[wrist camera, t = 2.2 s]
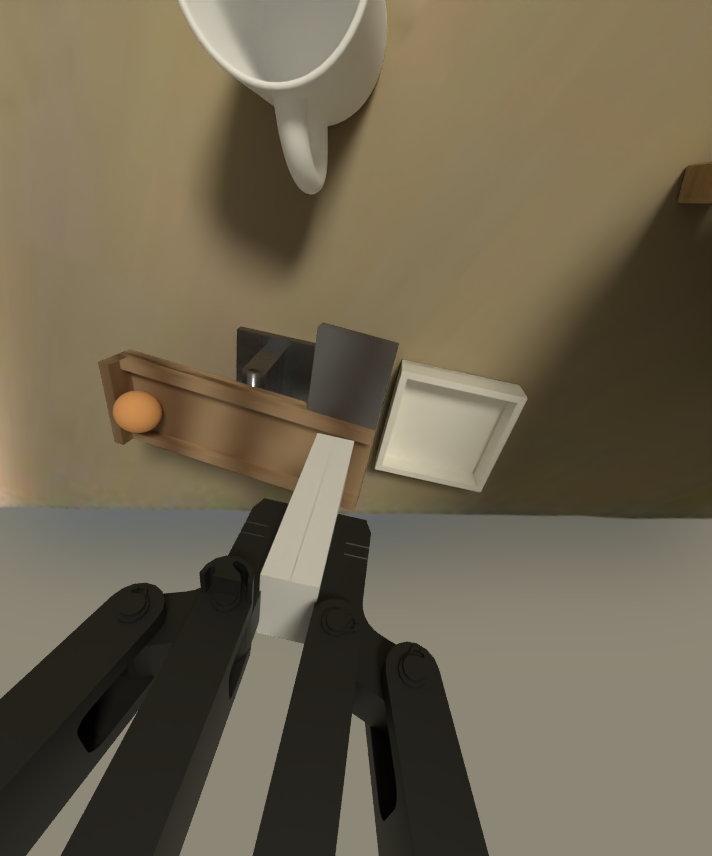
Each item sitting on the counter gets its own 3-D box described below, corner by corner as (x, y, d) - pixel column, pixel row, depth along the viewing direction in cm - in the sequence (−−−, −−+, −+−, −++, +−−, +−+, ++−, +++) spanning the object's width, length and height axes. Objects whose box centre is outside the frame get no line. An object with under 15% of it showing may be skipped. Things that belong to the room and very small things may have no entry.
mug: (382, 196, 26) (370, 193, 17) (269, 195, 27) (204, 192, 18) (392, -66, 20) (381, -276, 11) (244, -58, 21) (127, -248, 12)
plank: (141, 424, 32) (115, 441, 30) (116, 266, 25) (79, 272, 23) (359, 495, 30) (349, 520, 27) (399, 343, 23) (391, 358, 20)
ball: (140, 413, 30) (105, 432, 27) (135, 379, 28) (97, 395, 26) (173, 426, 30) (141, 446, 27) (169, 391, 28) (135, 409, 25)
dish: (376, 453, 38) (374, 469, 36) (402, 359, 32) (402, 370, 30) (476, 475, 38) (480, 492, 36) (519, 385, 32) (527, 398, 30)
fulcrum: (239, 420, 38) (208, 460, 32) (240, 326, 32) (204, 353, 27) (305, 435, 38) (287, 478, 32) (317, 343, 32) (298, 374, 27)
